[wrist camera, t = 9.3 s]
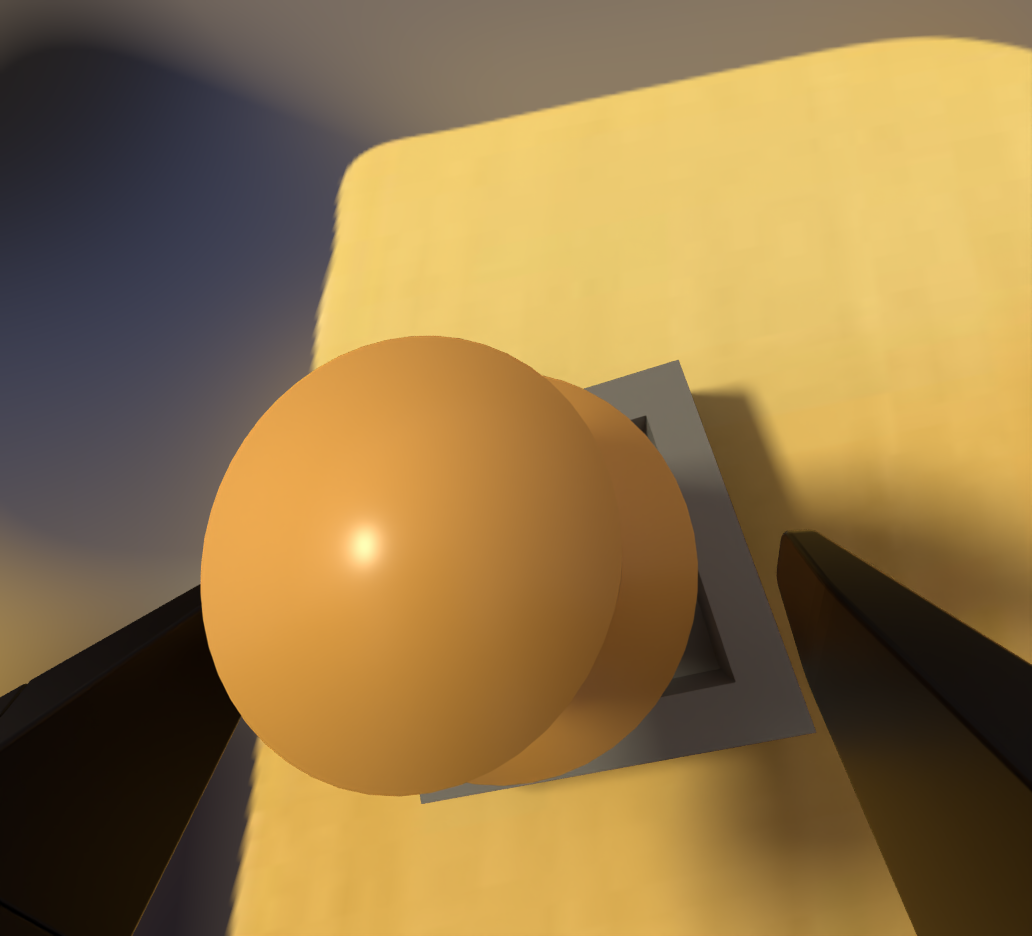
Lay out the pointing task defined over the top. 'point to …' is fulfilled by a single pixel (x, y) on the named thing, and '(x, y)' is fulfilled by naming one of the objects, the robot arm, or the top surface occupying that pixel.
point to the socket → (700, 607)
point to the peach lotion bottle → (445, 572)
